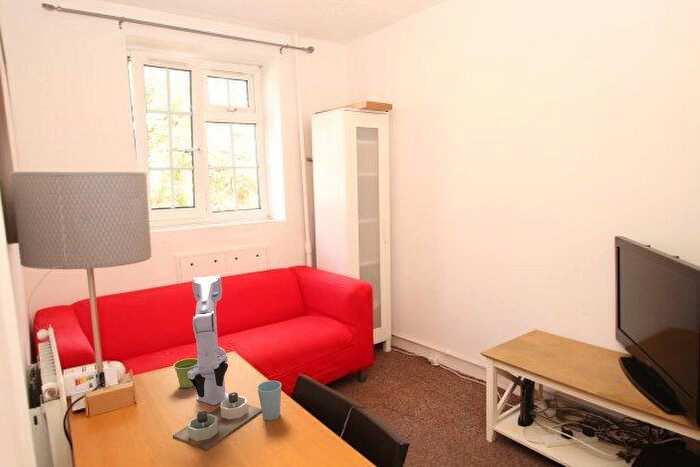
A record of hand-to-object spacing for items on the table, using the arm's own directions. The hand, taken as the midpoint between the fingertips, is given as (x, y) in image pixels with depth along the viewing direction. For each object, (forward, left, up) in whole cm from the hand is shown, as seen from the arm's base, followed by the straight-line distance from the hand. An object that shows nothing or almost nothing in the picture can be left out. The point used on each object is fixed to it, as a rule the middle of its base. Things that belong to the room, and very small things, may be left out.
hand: (210, 390), depth 141 cm
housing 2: (+3, +7, -10) cm, 13 cm away
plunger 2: (+3, +6, -10) cm, 12 cm away
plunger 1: (+3, -7, -10) cm, 12 cm away
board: (+3, 0, -10) cm, 11 cm away
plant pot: (-29, +14, -11) cm, 34 cm away
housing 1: (+3, -6, -10) cm, 13 cm away
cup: (+15, +11, -11) cm, 21 cm away
